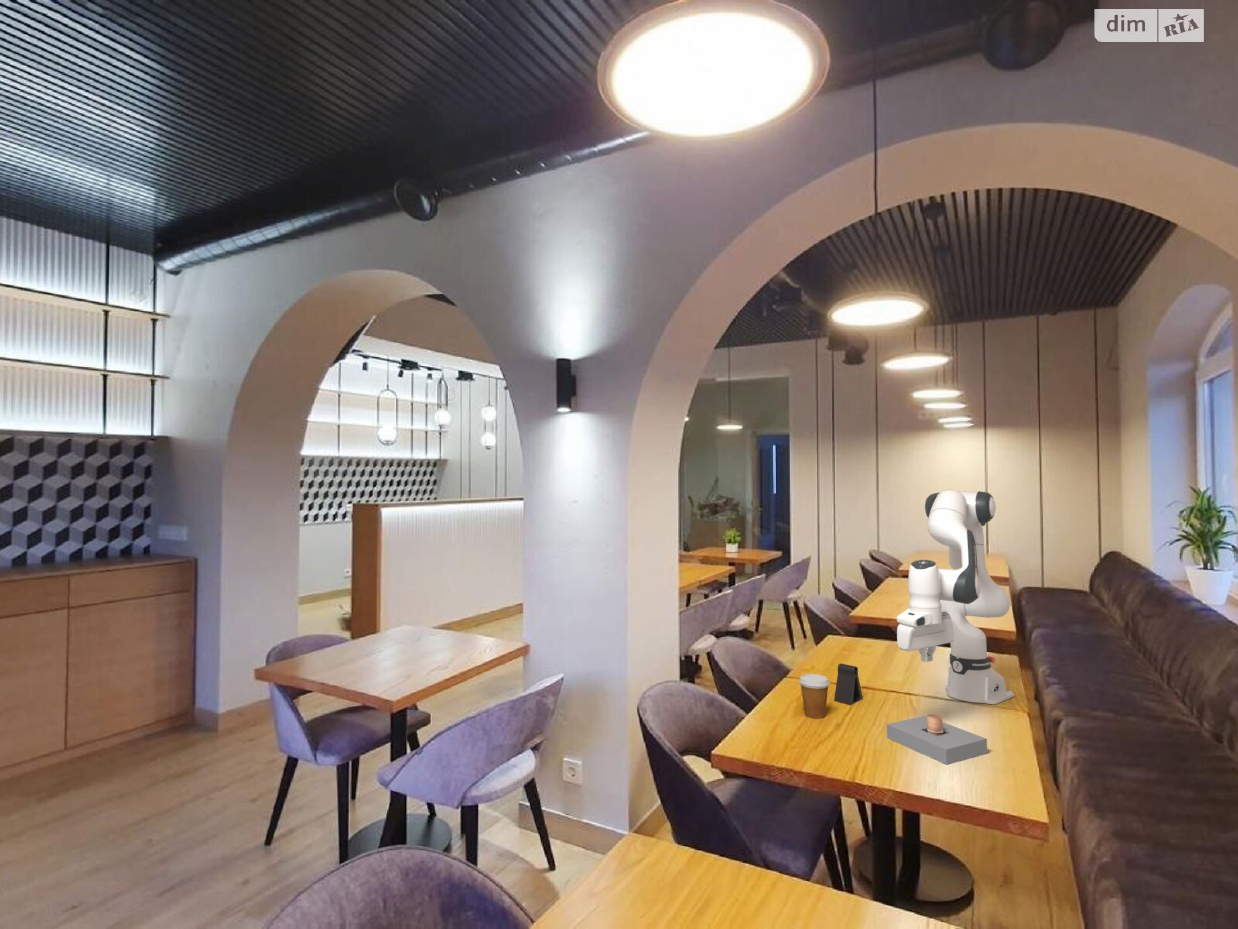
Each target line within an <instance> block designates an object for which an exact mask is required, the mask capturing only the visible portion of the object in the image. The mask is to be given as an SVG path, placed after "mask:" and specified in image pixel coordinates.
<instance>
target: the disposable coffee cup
mask: <svg viewBox="0 0 1238 929" xmlns="http://www.w3.org/2000/svg"><path fill="white" fill-rule="evenodd" d="M798 682H799V684H800V689H801V697H802V704H803V709H804V710H803V711H804V715H805V716H806V717H808V718H811V719H823V718H825V717H826V709H827V703H828V702H827V701H828V692H829V686H830V684H831V683H830V681H829V678H828V677H827V676H825V675H822V674H817V673H806V674H802V675H800V678H799V680H798Z"/></svg>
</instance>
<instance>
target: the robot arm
mask: <svg viewBox="0 0 1238 929" xmlns="http://www.w3.org/2000/svg"><path fill="white" fill-rule="evenodd" d="M996 507H997V505H996V501H995V500H994V497H993V495H992V494H991V493H990V492H986V491H971V490H967V491H966V490H954V489H947V490H943V491H941V492H935V493H931V494H929V495H928V496H927V497H926V500H925V502H924V512H925V514H926V517H927V531H928V533H929V535H930V537H932V538H933V540H935V541H936V542H937V543H939V544H941V545H943V546H945V547H948V563H949V566H950V567H951V568H952V569H951V568H939V567H938V566H939V565H938V564H937V562H935V561H933V560H930V559H918V560H914V561H912V562H911V563H910V564H909V567H908V578H907V585H908V586H907V587H908V588H907V589H908V594H909V602H908V608H906V610H904V611H902V613H900V614H898V615H897V616H896V623H898V626H897V628H896V630H897V631H896V639H897V640H896V642H897V647H898V648H899V650H901V651H905V652H914V651H918V653H919V655H921V656H920V657H921V661H922V662H924V663H929V662H932V661H934V654H935V651H936V649H937V646H940V645H945V644H950V653H949V664H950V666H949V667H948V673H947V674H948V676H947V685H945V691H946V694H947V695H948V696H949V697H951V698H953V699H956V700H959V701H963V702H969V703H976V704H977V703H980V704H989V705H997V704H1000V703H1002V702H1004V701H1006V700H1008V699H1011V698H1014V697H1015V693H1014V692H1013V691H1011V690H1009V689H1007V688H1006V687H1007V684H1006V680H1005V677H1004V676H1003V675H1001V674H1000V673H998V671H996V670H995V669H994V668H993V667H992V665H991V663H992V664H995V663H996V661H997V660H996V657H995V656H990V655H988V652H987V648H988V646H987V636H986V634H985V633H984V631H983V630H982V629H980V628H978V627H977V626H975V625H974V624H972V623H970V622H969V620H968V619H967V617H976V618H978V617H979V618H986V619H987V618H988V619H989V618H1000V617H1005V615H1006V614H1008V613H1009V610H1010V606H1011V601H1010V600H1011V599H1010V597H1009V595H1008V593H1007V592H1006V590H1004V589H1003V588H1002V587H1000V585H998V584H997V583H995V581H994V580H993V579H992V578H991V576H990V574H989V572H988V568H987V565H986V559H985V558H986V556H985V537H984V536H985V534H984V530H983V529H984V528H983V527H985V525H987V523H989V522H990V521H992V519H993V518H994V517H995V513H996V509H997V508H996Z"/></svg>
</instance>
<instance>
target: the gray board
mask: <svg viewBox="0 0 1238 929" xmlns="http://www.w3.org/2000/svg"><path fill="white" fill-rule="evenodd" d="M886 739H888V740H890V741H893V742H895V743H898V744H900V745H901V746H904V747H907V748H908V749H911V750H913V751H915V752H917V753H919V754H921V755H924V756H926V757H929V758H930V759H933V760H935V761H937V762H939V763H941V764H944V765H946V766H947V765H950V764H954V763H958V762H962V761H965V760H969V759H972V758H973V759H974V758H976V757H980V756H983V755H986V754H988V739H987V738H985V737H983V736H980V735H977V734H976V733H974V732H973V733H972V732H970V731H968V730H965V729H963V728H959V727H957V726H954V725H951V724H948V723H946V722H944V721H943V735H940V736H935V735H932V734H930V733H928V731H927V715H926V714H925V715H922V716H917V717H913V718H908V719H904V720H900V721H895V722H891V723H887V724H886Z"/></svg>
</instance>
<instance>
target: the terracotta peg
mask: <svg viewBox="0 0 1238 929" xmlns="http://www.w3.org/2000/svg"><path fill="white" fill-rule="evenodd" d="M926 716H927V731H928V733H930V734H932V735H935V736H940V735H943V722H944V719H943V716H941V715H937V714H927V715H926Z"/></svg>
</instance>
